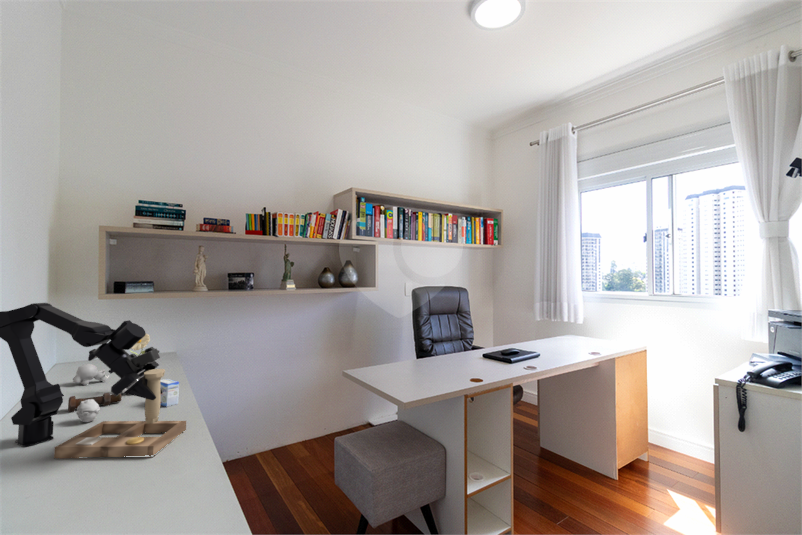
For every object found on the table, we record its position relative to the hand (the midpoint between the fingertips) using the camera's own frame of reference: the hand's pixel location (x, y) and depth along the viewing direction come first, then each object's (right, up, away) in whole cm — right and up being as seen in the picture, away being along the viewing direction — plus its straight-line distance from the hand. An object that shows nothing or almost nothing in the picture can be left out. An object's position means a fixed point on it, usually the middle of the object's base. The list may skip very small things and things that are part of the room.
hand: (158, 396), depth 112 cm
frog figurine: (-31, -13, +12) cm, 36 cm away
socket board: (-7, -13, -3) cm, 15 cm away
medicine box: (-17, -14, +31) cm, 37 cm away
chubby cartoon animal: (-65, -13, +54) cm, 86 cm away
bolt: (-40, -13, +26) cm, 49 cm away
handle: (-2, -8, -1) cm, 8 cm away
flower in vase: (-38, -13, +44) cm, 60 cm away
